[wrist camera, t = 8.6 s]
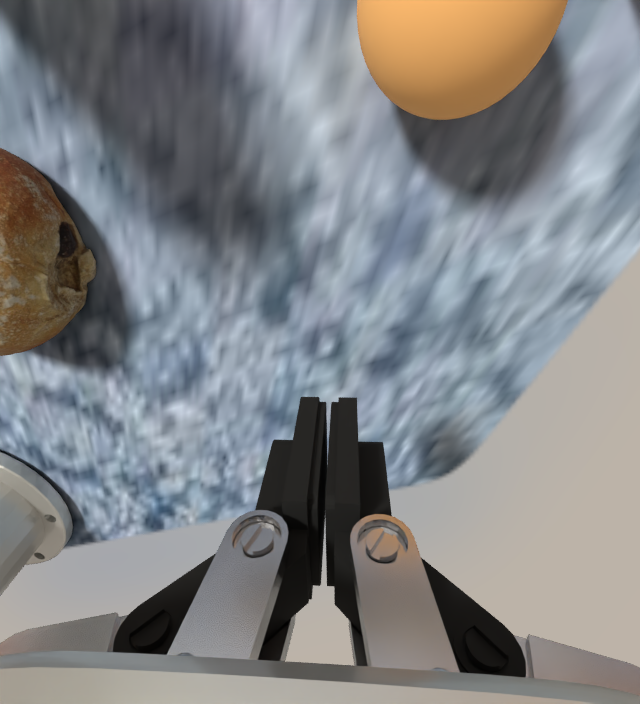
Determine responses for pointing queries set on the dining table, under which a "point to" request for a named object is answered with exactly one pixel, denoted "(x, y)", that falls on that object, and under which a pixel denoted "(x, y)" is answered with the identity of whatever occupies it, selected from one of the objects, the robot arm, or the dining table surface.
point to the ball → (453, 50)
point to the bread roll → (37, 259)
